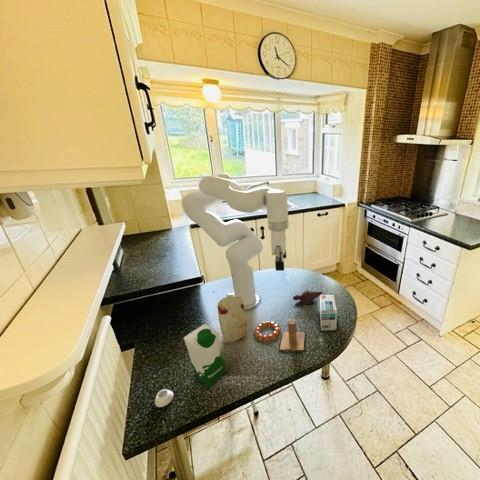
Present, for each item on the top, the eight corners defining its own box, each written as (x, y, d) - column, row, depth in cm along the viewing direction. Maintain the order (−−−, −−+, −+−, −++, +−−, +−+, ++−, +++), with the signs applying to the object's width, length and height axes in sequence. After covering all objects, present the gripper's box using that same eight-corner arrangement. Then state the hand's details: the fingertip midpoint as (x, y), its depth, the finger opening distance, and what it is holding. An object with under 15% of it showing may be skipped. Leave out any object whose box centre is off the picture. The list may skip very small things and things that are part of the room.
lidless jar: (154, 397, 81) (155, 411, 77) (152, 391, 79) (153, 404, 76) (172, 389, 83) (174, 402, 79) (170, 383, 82) (172, 395, 78)
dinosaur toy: (318, 283, 128) (290, 293, 122) (324, 288, 121) (294, 298, 116) (320, 296, 129) (292, 306, 124) (326, 301, 122) (297, 312, 117)
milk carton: (207, 391, 83) (195, 346, 74) (191, 376, 87) (178, 332, 79) (229, 371, 89) (221, 328, 81) (214, 359, 94) (204, 316, 86)
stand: (279, 352, 97) (278, 330, 92) (283, 334, 105) (281, 313, 101) (303, 352, 97) (303, 330, 92) (305, 334, 105) (304, 313, 101)
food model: (224, 349, 98) (216, 307, 90) (222, 337, 104) (214, 297, 95) (250, 340, 102) (244, 300, 94) (246, 329, 108) (241, 290, 99)
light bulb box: (336, 330, 107) (337, 310, 103) (320, 331, 107) (321, 310, 102) (333, 313, 117) (334, 294, 112) (319, 313, 117) (319, 294, 112)
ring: (251, 343, 101) (251, 338, 100) (257, 324, 110) (257, 320, 109) (278, 343, 101) (277, 338, 100) (281, 324, 110) (281, 320, 109)
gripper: (271, 216, 103) (274, 254, 110) (264, 233, 87) (268, 275, 94) (290, 216, 103) (292, 253, 110) (286, 232, 88) (289, 275, 95)
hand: (281, 263), depth 102 cm, fingers open, 9 cm apart
